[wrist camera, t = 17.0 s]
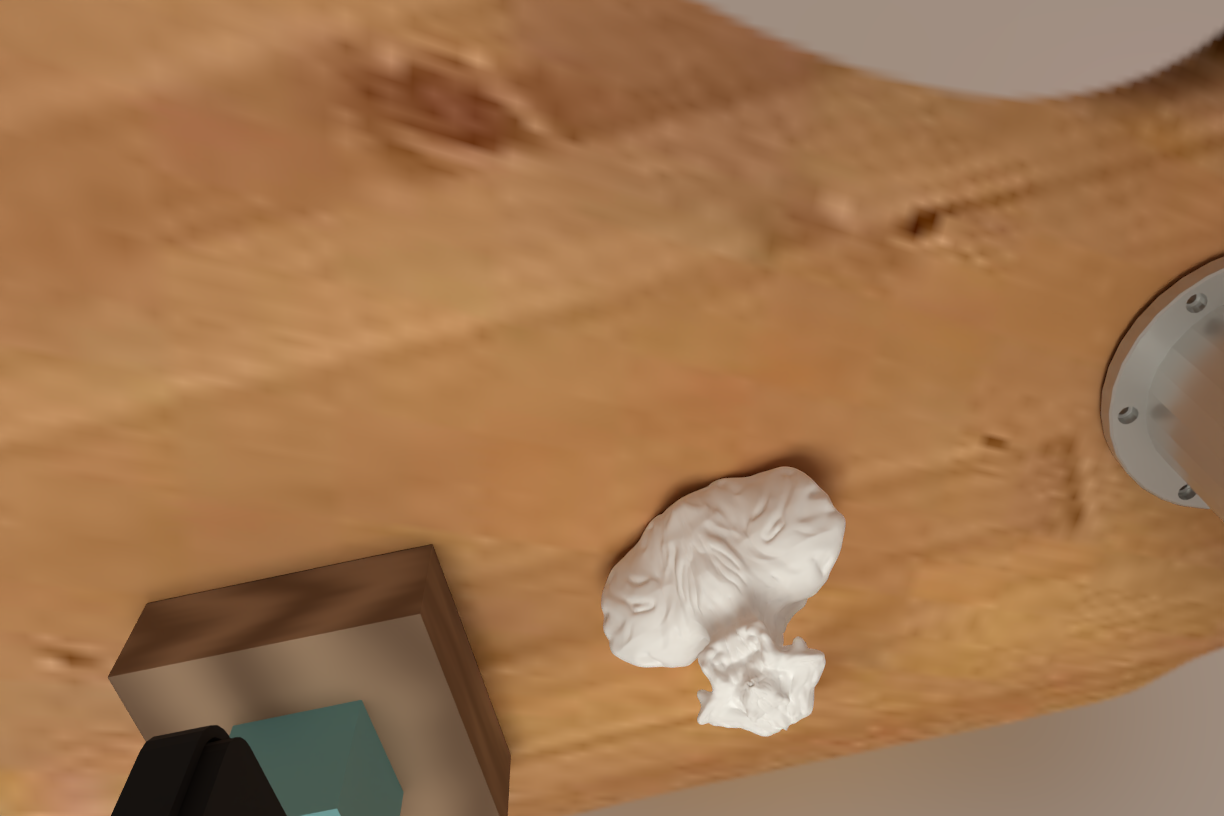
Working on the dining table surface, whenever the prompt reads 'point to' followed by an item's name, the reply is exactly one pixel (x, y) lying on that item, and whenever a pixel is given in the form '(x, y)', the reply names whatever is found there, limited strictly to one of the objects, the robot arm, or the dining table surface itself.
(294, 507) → the dining table surface
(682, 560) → the bust
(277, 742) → the teal cube
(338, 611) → the walnut block
